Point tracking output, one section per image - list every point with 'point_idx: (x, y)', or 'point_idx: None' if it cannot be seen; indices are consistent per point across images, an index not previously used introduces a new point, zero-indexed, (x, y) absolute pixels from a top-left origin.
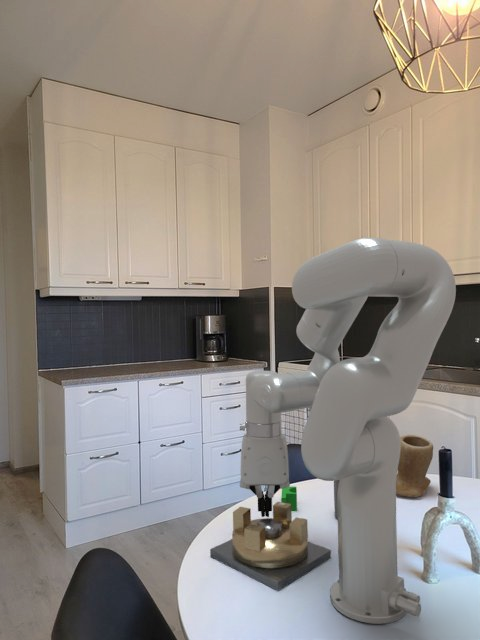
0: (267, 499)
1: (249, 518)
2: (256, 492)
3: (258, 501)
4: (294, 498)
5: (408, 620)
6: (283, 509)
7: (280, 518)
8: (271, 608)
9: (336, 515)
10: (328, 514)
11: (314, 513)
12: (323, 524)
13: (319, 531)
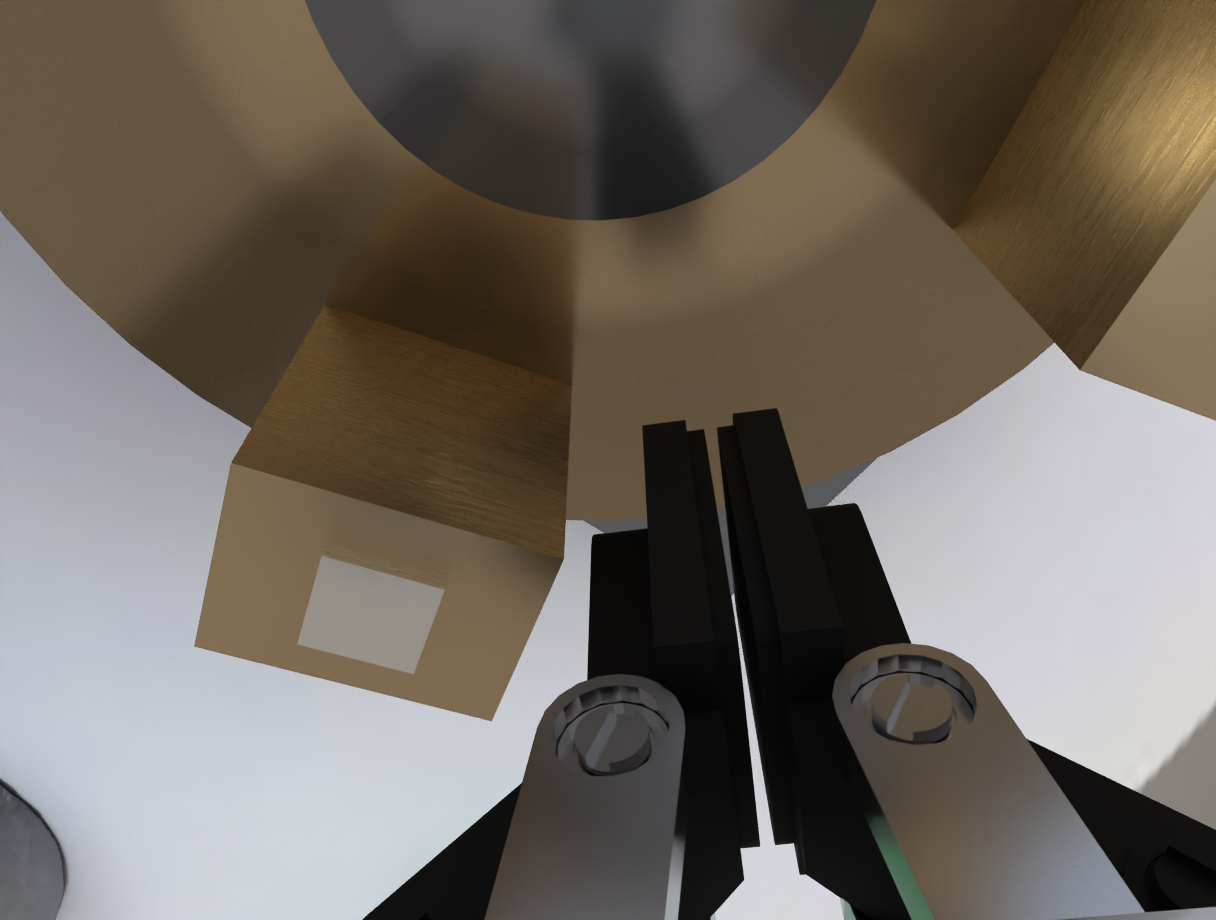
0: (686, 628)
1: (1033, 237)
2: (1023, 758)
3: (891, 619)
4: None
5: None
6: (326, 464)
7: (429, 386)
8: None
9: (6, 839)
10: (133, 877)
11: (264, 883)
12: (126, 721)
13: (125, 595)
